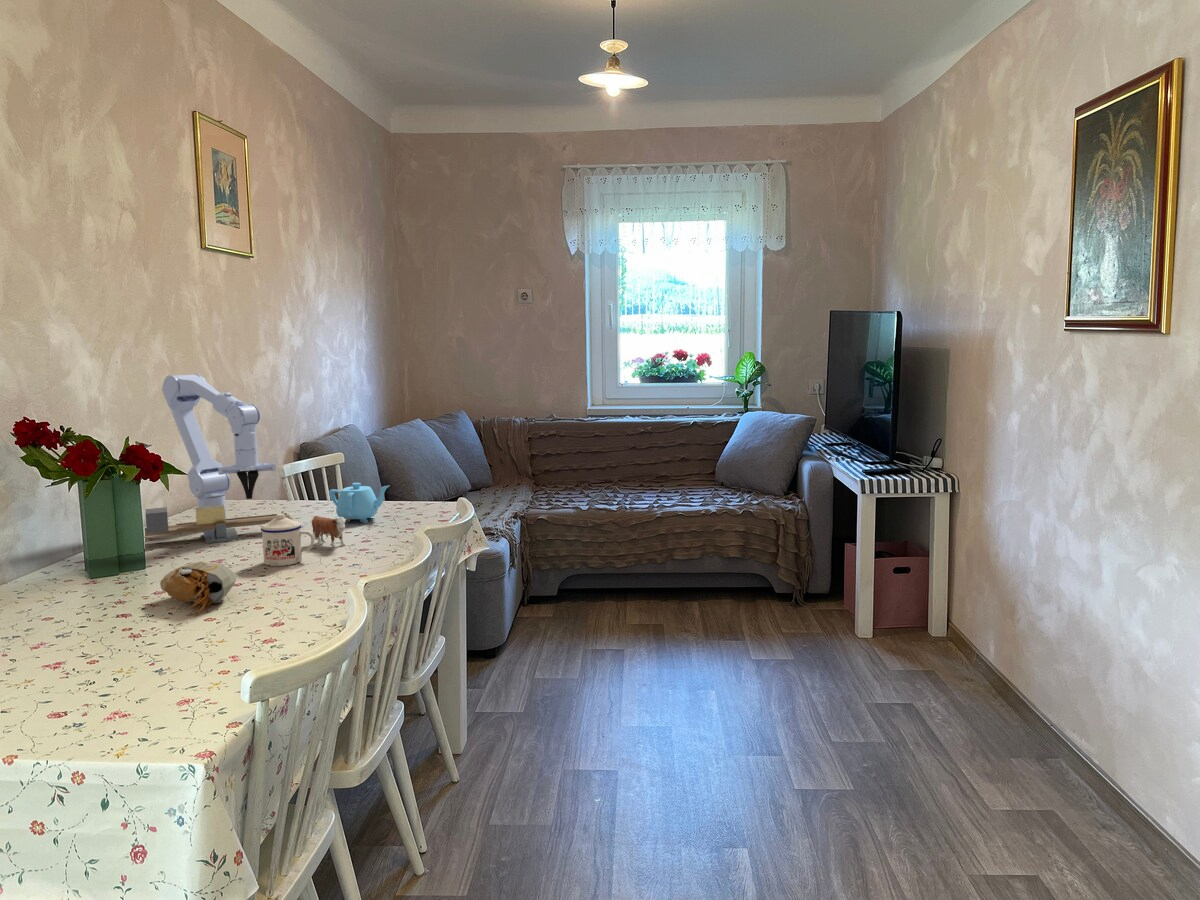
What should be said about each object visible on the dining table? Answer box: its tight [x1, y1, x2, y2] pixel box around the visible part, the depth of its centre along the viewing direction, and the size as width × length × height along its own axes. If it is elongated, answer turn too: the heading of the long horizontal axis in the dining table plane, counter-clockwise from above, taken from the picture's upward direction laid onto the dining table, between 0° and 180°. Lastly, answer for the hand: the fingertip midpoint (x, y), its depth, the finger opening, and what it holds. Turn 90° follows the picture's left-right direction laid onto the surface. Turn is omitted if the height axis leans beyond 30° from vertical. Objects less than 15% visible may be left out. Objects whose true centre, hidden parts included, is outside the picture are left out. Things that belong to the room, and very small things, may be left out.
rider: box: [194, 505, 226, 527], centre depth 241 cm, size 4×7×4 cm, turn 116°
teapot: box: [328, 482, 390, 524], centre depth 263 cm, size 13×14×11 cm
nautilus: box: [159, 561, 237, 617], centre depth 183 cm, size 8×22×15 cm
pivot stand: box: [202, 523, 239, 544], centre depth 242 cm, size 12×8×5 cm, turn 26°
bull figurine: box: [311, 515, 351, 548], centre depth 232 cm, size 4×13×8 cm, turn 53°
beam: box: [144, 506, 293, 537], centre depth 242 cm, size 8×36×6 cm, turn 116°
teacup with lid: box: [260, 513, 316, 567], centre depth 215 cm, size 12×9×12 cm
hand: (249, 498), depth 247 cm, fingers closed
